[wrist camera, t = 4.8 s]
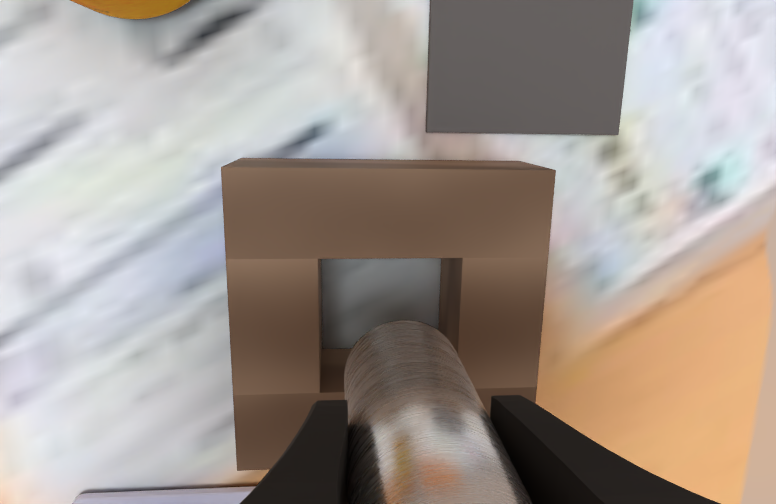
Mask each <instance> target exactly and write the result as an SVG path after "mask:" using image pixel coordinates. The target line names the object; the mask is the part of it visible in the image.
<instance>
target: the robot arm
mask: <svg viewBox="0 0 776 504" xmlns="http://www.w3.org/2000/svg"><path fill="white" fill-rule="evenodd" d="M490 420H491V422H492V424H493V426H494V427H495V429H496V431H497V433H498V435H499V437H500V439H501V441H502V443H503V445H504V447H505V449H506V451H507V453H508V455H509V457H510V459H511V461H512V463H513V465H514V467H515V469H516V471H517V473H518V475H519V477H520V479H521V481H522V483H523V485H524V487H525V489H526V491H527V493H528V495H529V497H530V499H531V501H532V503H533V504H720V503H717V502H715V501H712V500H710V499H707V498H705V497H702V496H700V495H698V494H695V493H693V492H690V491H688V490H686V489H684V488H682V487H680V486H677V485H675V484H673V483H671V482H669V481H667V480H665V479H662V478H660V477H658V476H656V475H654V474H652V473H650V472H648V471H646V470H644V469H642V468H640V467H638V466H636V465H635V464H633V463H631V462H629V461H627V460H626V459H624V458H622V457H620V456H618V455H617V454H615V453H613V452H611V451H610V450H608V449H606V448H604V447H603V446H601V445H599V444H598V443H596V442H594V441H593V440H591V439H590V438H588V437H586V436H585V435H583V434H582V433H580V432H578V431H577V430H575V429H574V428H572V427H571V426H569V425H568V424H566V423H564V422H563V421H561V420H560V419H558V418H557V417H555V416H554V415H552V414H551V413H549V412H548V411H546V410H544V409H543V408H541V407H540V406H538V405H537V404H535V403H533V402H532V401H530V400H528V399H527V398H525V397H523V396H521V395H498V396H491V407H490ZM347 467H348V404H347V400H318V401H316V402H315V403H314V404H313V405H312V407H311V409H310V412H309V414H308V416H307V417H306V419H305V421H304V423H303V424H302V426H301V428H300V429H299V431H298V433H297V434H296V436H295V437H294V439H293V440H292V441H291V443H290V444H289V446H288V447H287V449H286V450H285V452H284V453H283V454H282V456H281V457H280V458H279V460H278V461H277V462H276V463H275V464H274V466H273V467H272V468H271V469H270V471H269V472H268V473H267V474H266V476H265V477H264V478H263V479H262V480H261V481H260V483H259V484H258V485H257V486H251V487H227V488H203V489H179V490H154V491H130V492H106V493H85V494H80V495H79V496H77V497H76V498H75V500H74V501H73V503H72V504H347Z"/></svg>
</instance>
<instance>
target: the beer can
mask: <svg viewBox="0 0 776 504" xmlns="http://www.w3.org/2000/svg"><path fill="white" fill-rule="evenodd" d="M71 1H73V2H75V3H78V4H80V5H82V6H85V7H87V8H89V9H92V10H94V11H96V12H99V13H102V14H105V15H108V16H112V17H117V18H123V19H147V18H153V17H158V16H161V15H164V14H167V13H170V12H172V11H174V10H176V9H178V8H180V7H182V6H183V5H185V4H186V3H188V2H189V1H190V0H71Z"/></svg>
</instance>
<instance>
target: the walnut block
mask: <svg viewBox="0 0 776 504" xmlns="http://www.w3.org/2000/svg"><path fill="white" fill-rule="evenodd" d="M555 173H556V170H553V169H549V168H545V167H541V166H537V165H533V164H529V163H525V162H521V161H463V160H369V159H275V158H240V159H238V160H236V161H234V162H231V163H229V164H227V165H225V166H223V167H221V177H222V196H223V214H224V233H225V252H226V271H227V289H228V308H229V327H230V345H231V364H232V383H233V402H234V420H235V439H236V458H237V471H241V470H267V469H271V468H272V467H273V466H274V464H275V463H276V462H277V461H278V460H279V458H280V457H281V456H282V454H283V453H284V452H285V450H286V449H287V447H288V446H289V444H290V443H291V441H292V440H293V439H294V437H295V436H296V434H297V433H298V431H299V429H300V428H301V426H302V424H303V423H304V421H305V419H306V417H307V416H308V414H309V412H310V409H311V407H312V405H313V404H314V403H315V402H316V401H318V400H345V392H344V371H345V365H346V361H347V358H348V356H349V354H350V352H351V350H352V349H322V275H321V259H359V258H441V279H440V303H439V328H438V331H440V332H441V333H442V334H444V335H445V336H446V337H447V338H448V340H449V341H450V342H451V343H452V345H453V347H454V348H455V350H456V352H457V354H458V356H459V358H460V360H461V362H462V364H463V366H464V368H465V370H466V372H467V374H468V376H469V378H470V380H471V382H472V384H473V386H474V388H475V390H476V392H477V394H478V396H479V398H480V400H481V402H482V404H483V406H484V408H485V410H486V412H487V414H488V416H489V418H490V407H491V396H498V395H521V396H523V397H525V398H527V399H528V400H530V401H532V402H533V403H535V400H536V388H537V377H538V366H539V354H540V343H541V332H542V320H543V309H544V298H545V286H546V275H547V264H548V252H549V241H550V229H551V218H552V207H553V195H554V184H555Z"/></svg>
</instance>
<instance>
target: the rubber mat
mask: <svg viewBox="0 0 776 504" xmlns="http://www.w3.org/2000/svg"><path fill="white" fill-rule="evenodd" d="M632 9H633V0H430V18H429V49H428V80H427V110H426V132H461V133H526V134H592V135H618V133H619V124H620V115H621V106H622V97H623V88H624V79H625V71H626V62H627V53H628V44H629V35H630V26H631V17H632Z"/></svg>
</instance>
